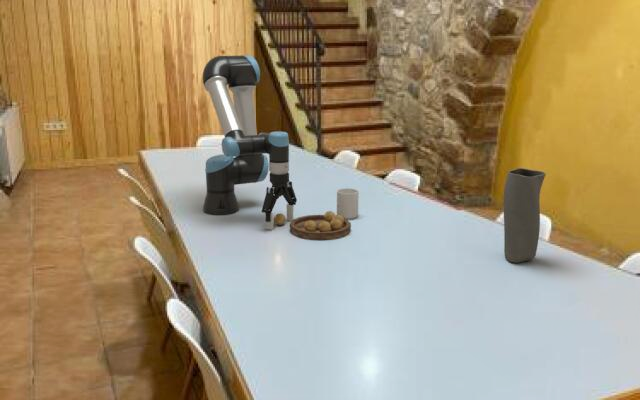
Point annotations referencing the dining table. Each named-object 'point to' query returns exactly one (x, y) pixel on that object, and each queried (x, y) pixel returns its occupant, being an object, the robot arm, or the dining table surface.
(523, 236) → the vase
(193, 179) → the dining table surface
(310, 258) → the dining table surface
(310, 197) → the dining table surface
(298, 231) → the tray
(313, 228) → the seated beads
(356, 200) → the mug
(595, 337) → the dining table surface
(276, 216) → the bead
